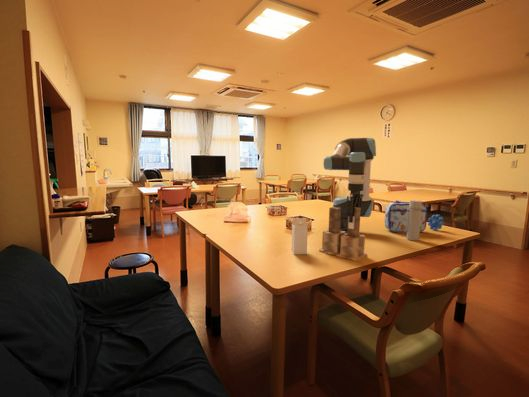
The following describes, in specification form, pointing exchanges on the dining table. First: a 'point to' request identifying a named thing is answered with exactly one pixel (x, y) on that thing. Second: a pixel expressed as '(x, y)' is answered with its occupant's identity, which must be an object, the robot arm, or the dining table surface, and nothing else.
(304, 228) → the milk carton
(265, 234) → the dining table surface
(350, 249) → the stand
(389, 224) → the lunch box
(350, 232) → the right post
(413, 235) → the tall beige block
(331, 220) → the left post
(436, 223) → the blue bumpy wheel
